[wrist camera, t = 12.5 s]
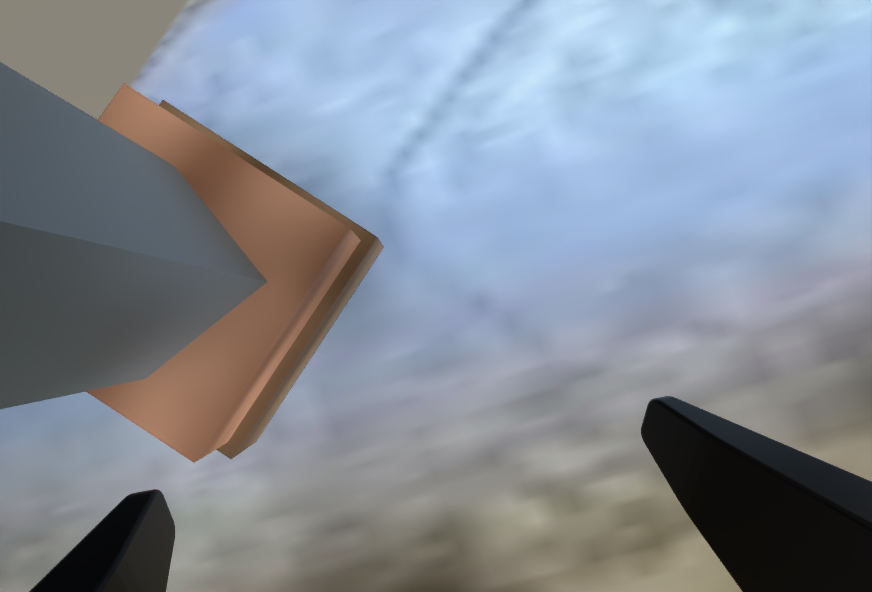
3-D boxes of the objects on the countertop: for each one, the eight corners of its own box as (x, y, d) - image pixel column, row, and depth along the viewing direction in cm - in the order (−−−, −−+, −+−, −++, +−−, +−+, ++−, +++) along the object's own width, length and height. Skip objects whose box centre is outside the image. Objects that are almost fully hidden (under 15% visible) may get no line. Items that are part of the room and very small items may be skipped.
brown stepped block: (383, 246, 21) (368, 224, 16) (256, 441, 20) (197, 482, 15) (195, 126, 21) (120, 64, 16) (63, 315, 20) (-57, 314, 15)
